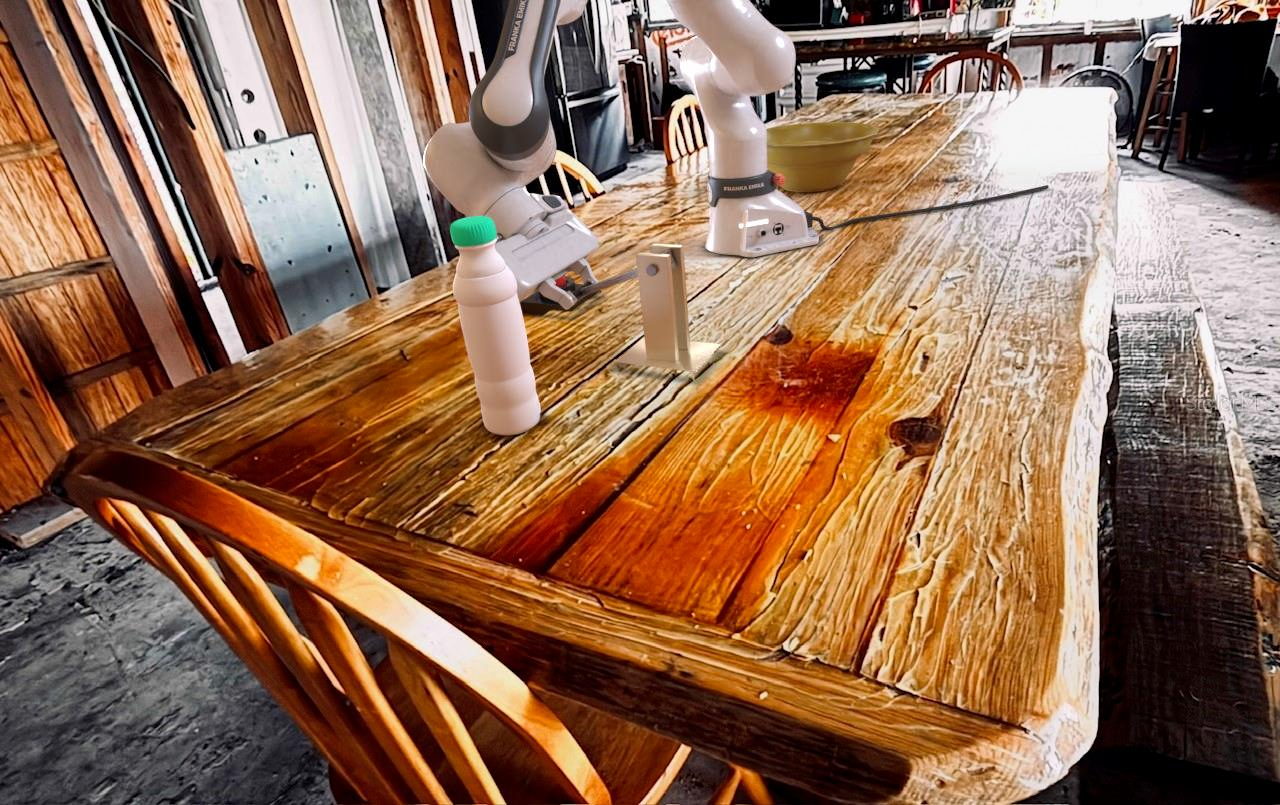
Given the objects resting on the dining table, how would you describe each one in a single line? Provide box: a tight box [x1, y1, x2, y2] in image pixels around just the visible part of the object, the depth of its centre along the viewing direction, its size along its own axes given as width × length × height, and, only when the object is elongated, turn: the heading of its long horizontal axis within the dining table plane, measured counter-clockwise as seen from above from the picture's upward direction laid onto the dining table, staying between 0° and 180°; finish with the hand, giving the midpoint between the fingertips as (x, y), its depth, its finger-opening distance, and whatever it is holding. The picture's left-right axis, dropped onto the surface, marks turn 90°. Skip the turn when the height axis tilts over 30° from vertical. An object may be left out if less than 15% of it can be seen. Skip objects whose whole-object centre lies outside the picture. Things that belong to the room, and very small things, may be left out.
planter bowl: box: [766, 121, 880, 193], centre depth 179 cm, size 32×32×13 cm
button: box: [555, 274, 566, 287], centre depth 120 cm, size 4×4×2 cm
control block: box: [520, 276, 602, 316], centre depth 121 cm, size 12×10×4 cm
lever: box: [572, 249, 677, 301], centre depth 95 cm, size 16×5×2 cm, turn 62°
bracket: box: [615, 243, 722, 373], centre depth 94 cm, size 12×9×16 cm
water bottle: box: [449, 216, 542, 436], centre depth 80 cm, size 7×7×25 cm
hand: (584, 297), depth 99 cm, fingers closed on lever, 5 cm apart
